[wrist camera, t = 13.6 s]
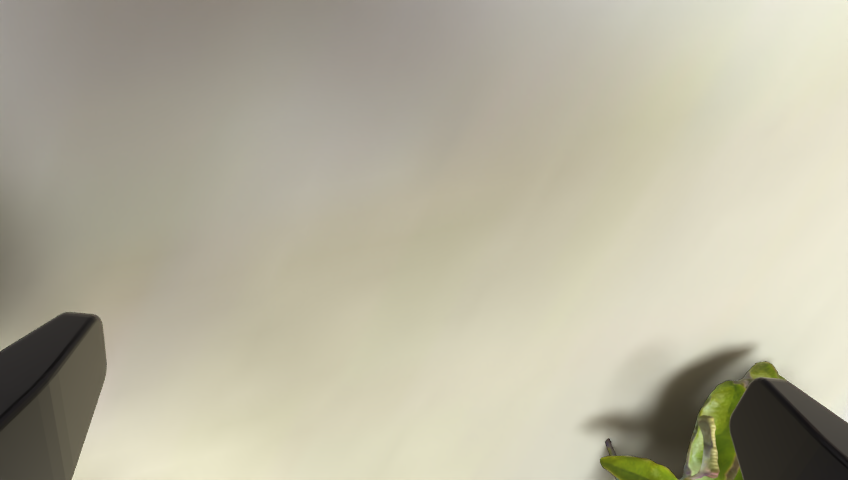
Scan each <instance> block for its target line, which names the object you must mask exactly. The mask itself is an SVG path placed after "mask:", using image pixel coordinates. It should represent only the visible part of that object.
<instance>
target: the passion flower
mask: <svg viewBox="0 0 848 480" xmlns="http://www.w3.org/2000/svg"><path fill="white" fill-rule="evenodd" d="M758 377H767V378H777V379H783V380H786V379H785V378H783V377H781V376H780V375H778V372H777V370H776V369H775V367H774V366H773V365H772V364H771V363H769V362H766V361H765V362H758V363H755V365H754V366H752V368H751V369H750V370H749V371H748V372H747V373H746V375H745V376H744V378H743V379H740V380H738V381H725V382H723V383H722V384H719V385H718V386H716V389H715V390H714V391H712V393H711V394H710V395H709V397H708V398H707V400H706V401H705V403H704V405H703V406H702V408H701V410H700V411H699V414H698V416H697V421H696V425H695V429H694V431H693V433H692V437H691V440H690V444H689V447H688V452H687V460H686V463H685V465H684V468H683V469H684V474H683V476H682V478H680V479H679V478H677V477H676V476H675V475H674V474H673V473H672V472H671V470H670V469H669V468H667V467H666V466H664V465H660V464H657V463H655V462H654V461H652V460H651V459H648V458H639V457H633V456H616V455H615V451H614V449H613V447H612V444H611V441H610V439H608V440H607V441H606V442H605V443H606V446H607V448H608V451H609V454H610V456H606V457H602V458H601V459H600V463H601V465H602V467H603V468H604V469H606V470H608V471H609V472H610V473H611V474H612V475H614V476H615V477H616V480H743V477H742V473H741V470H740V466H739V463H738V459H737V456H736V452H735V449H734V445H733V442H732V438H731V435H730V428H729V423H730V417H731V415H732V413H733V411H734V409H735V408H736V406H737V404H738V402H739V401H740V399H741V397H742V396H743V394H744V392H745V391H746V389H747V387H748V386H749V384H750V383H751V381H753V380H754V379H756V378H758ZM786 381H787V380H786Z"/></svg>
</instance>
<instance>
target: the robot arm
mask: <svg viewBox="0 0 848 480" xmlns="http://www.w3.org/2000/svg"><path fill="white" fill-rule="evenodd" d="M106 367H107V362H106V352H105V343H104V334H103V325H102V322H101V319H100V318H99V317H98V316H97V315H94V314H85V313H75V312H65V313H62V314H60V315H58V316H57V317H55V318H53V319H52V320H50V321H49V322H47V323H45V324H44V325H42V326H40V327H39V328H37V329H36V330H34V331H32V332H31V333H29V334H28V335H26V336H24V337H23V338H21V339H19V340H18V341H16V342H15V343H13V344H11V345H10V346H8V347H6V348H5V349H3V350H2V351H0V480H72V477H73V474H74V471H75V468H76V465H77V462H78V459H79V456H80V453H81V450H82V447H83V444H84V441H85V438H86V435H87V432H88V429H89V426H90V423H91V420H92V417H93V414H94V411H95V408H96V405H97V402H98V398H99V395H100V392H101V389H102V386H103V383H104V380H105V375H106ZM729 428H730V435H731V438H732V442H733V445H734V449H735V452H736V456H737V459H738V463H739V466H740V470H741V473H742V477H743V480H848V423H847V422H846V421H844V420H843V419H841V418H840V417H839V416H837V415H836V414H834V413H833V412H831V411H830V410H828V409H827V408H826V407H824V406H823V405H821V404H820V403H818V402H817V401H816V400H814V399H813V398H811V397H810V396H808V395H807V394H806V393H804V392H803V391H801V390H800V389H798V388H797V387H796V386H794V385H793V384H791V383H790V382H788V381H786V380H783V379H777V378H767V377H758V378H756V379H754V380H753V381H751V383H750V384H749V386H748V387H747V389H746V391H745V392H744V394H743V396H742V397H741V399H740V401H739V402H738V404H737V406H736V408H735V409H734V411H733V413H732V415H731V417H730V423H729Z"/></svg>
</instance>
